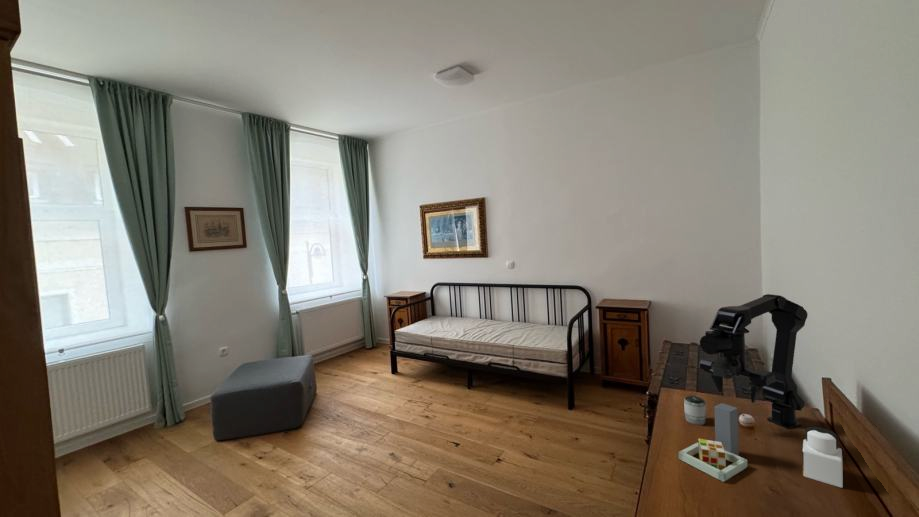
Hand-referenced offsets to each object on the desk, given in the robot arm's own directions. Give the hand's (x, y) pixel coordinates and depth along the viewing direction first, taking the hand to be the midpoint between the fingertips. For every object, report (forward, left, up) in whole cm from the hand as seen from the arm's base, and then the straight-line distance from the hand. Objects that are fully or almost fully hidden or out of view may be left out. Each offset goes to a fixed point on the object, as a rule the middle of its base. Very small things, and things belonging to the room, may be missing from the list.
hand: (736, 396), depth 113 cm
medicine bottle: (-1, +21, -13) cm, 25 cm away
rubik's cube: (+20, +7, -13) cm, 25 cm away
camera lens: (+3, -12, -13) cm, 18 cm away
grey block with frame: (+18, +7, -12) cm, 23 cm away
